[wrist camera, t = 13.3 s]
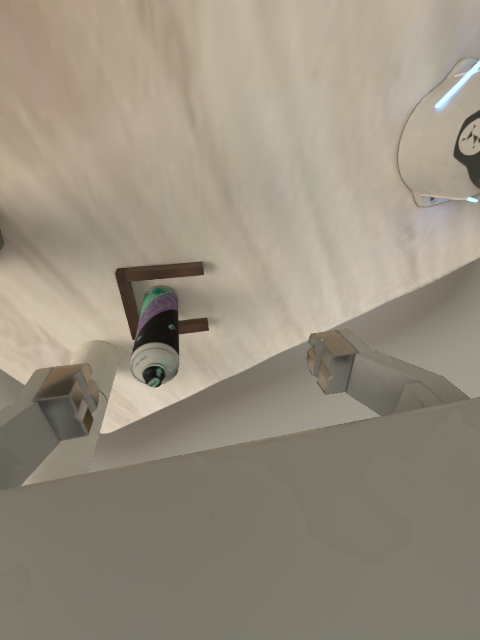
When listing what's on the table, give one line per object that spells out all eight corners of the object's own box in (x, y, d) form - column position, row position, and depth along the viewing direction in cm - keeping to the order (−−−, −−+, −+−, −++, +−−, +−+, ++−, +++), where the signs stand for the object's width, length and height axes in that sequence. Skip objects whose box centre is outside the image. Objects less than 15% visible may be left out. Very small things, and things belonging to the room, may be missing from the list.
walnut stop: (201, 261, 44) (203, 265, 43) (207, 324, 50) (208, 330, 49) (117, 268, 42) (114, 273, 40) (134, 333, 48) (132, 340, 47)
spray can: (179, 286, 46) (181, 362, 29) (176, 315, 48) (177, 400, 31) (144, 283, 44) (125, 361, 27) (143, 313, 47) (126, 401, 30)
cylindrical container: (70, 343, 47) (-17, 495, 26) (114, 338, 48) (67, 480, 27) (82, 374, 50) (15, 531, 29) (123, 369, 52) (87, 516, 31)
